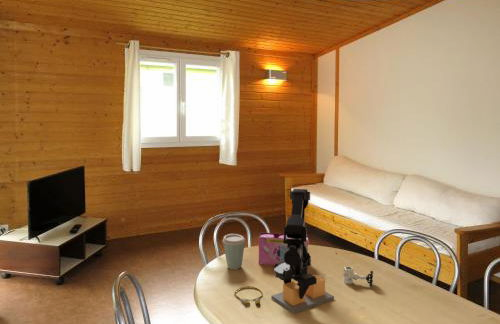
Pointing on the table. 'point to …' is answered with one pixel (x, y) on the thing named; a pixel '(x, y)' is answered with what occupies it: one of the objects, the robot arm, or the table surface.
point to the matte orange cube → (292, 293)
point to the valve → (355, 276)
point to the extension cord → (253, 299)
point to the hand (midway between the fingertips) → (294, 294)
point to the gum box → (272, 248)
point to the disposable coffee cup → (234, 250)
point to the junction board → (307, 297)
